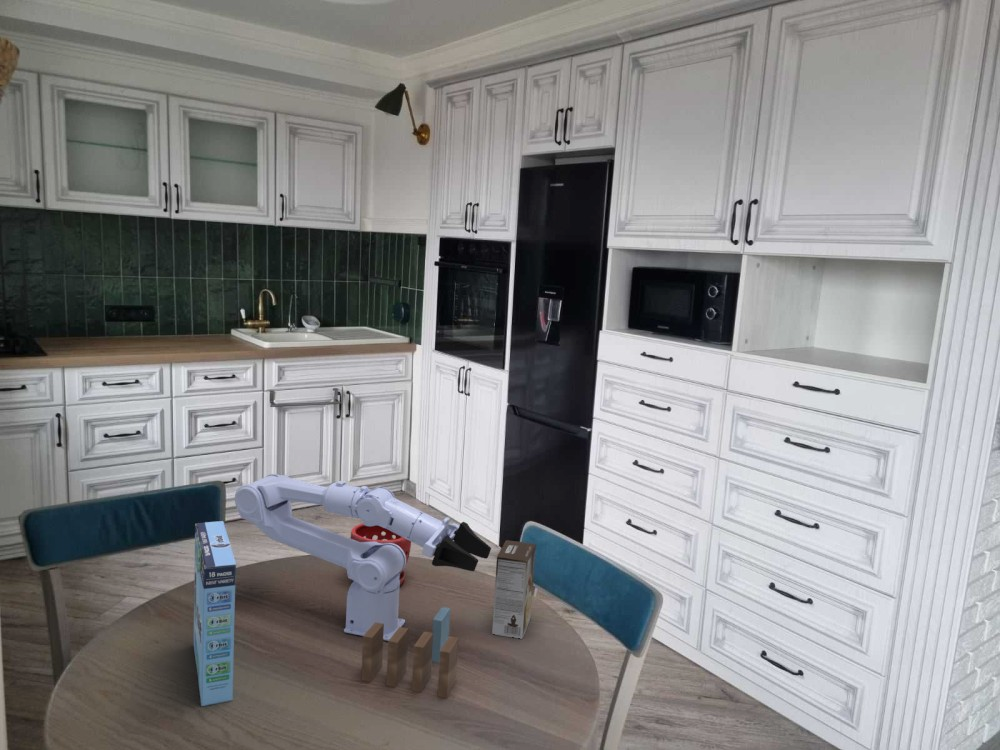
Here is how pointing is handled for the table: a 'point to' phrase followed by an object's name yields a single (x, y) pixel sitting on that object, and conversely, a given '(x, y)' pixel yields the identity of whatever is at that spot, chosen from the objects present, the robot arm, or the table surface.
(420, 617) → the table surface
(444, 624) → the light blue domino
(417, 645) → the walnut domino
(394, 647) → the walnut domino
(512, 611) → the coffee box
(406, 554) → the plant pot
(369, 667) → the walnut domino
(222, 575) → the light blue carton box
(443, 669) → the walnut domino
